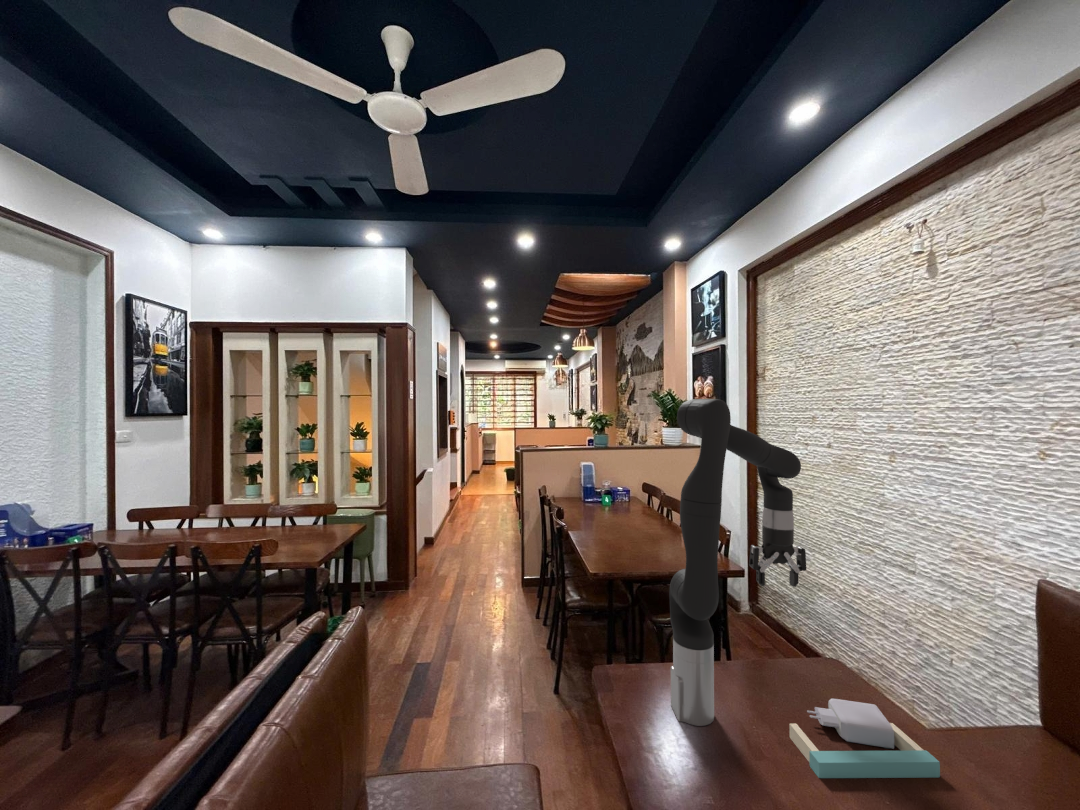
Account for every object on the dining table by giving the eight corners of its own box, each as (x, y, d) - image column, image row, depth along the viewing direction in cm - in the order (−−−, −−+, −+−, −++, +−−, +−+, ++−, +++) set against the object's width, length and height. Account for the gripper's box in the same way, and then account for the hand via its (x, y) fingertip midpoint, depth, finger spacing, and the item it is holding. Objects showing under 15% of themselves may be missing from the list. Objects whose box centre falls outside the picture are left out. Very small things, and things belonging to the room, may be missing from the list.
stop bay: (819, 778, 87) (818, 762, 87) (787, 737, 98) (787, 723, 98) (940, 777, 87) (939, 761, 87) (894, 736, 98) (894, 723, 98)
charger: (802, 711, 107) (873, 722, 103) (815, 738, 98) (894, 751, 94) (801, 691, 107) (873, 702, 103) (815, 717, 98) (894, 729, 94)
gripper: (758, 528, 116) (757, 590, 116) (812, 529, 116) (812, 591, 116) (745, 521, 124) (744, 579, 123) (796, 522, 124) (795, 580, 123)
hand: (777, 585), depth 120 cm, fingers open, 8 cm apart
